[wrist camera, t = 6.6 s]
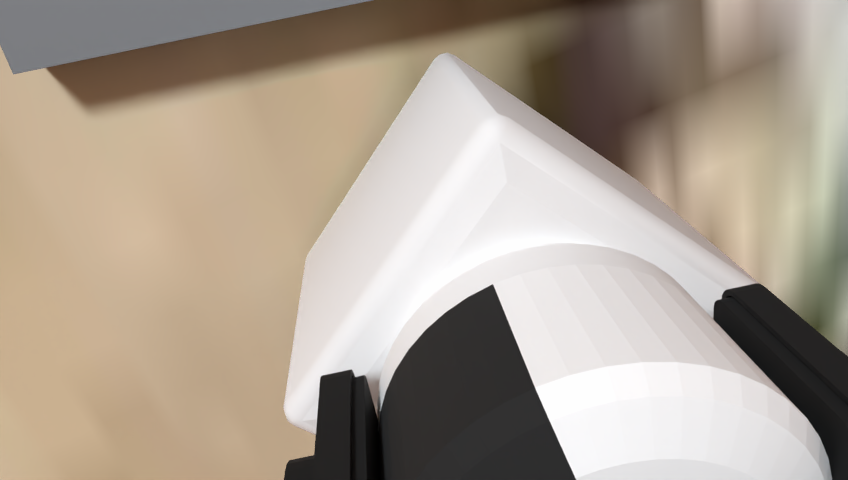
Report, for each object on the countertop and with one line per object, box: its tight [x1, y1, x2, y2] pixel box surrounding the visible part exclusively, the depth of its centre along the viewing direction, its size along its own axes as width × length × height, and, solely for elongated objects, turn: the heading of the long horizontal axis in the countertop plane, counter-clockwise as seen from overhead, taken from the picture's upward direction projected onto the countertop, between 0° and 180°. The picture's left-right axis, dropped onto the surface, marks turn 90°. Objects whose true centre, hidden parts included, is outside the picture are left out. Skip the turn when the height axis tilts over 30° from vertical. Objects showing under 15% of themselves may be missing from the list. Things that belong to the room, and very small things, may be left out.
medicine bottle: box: [284, 53, 832, 480], centre depth 13 cm, size 7×7×12 cm
